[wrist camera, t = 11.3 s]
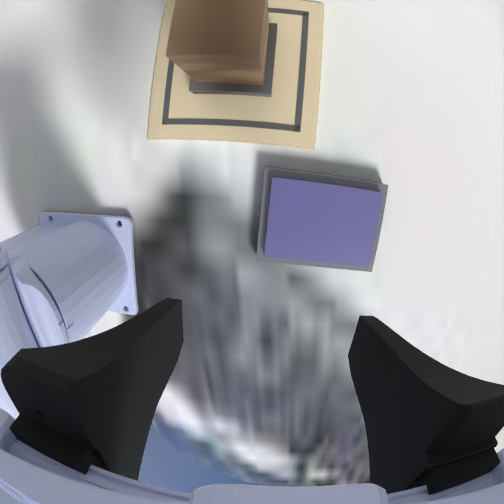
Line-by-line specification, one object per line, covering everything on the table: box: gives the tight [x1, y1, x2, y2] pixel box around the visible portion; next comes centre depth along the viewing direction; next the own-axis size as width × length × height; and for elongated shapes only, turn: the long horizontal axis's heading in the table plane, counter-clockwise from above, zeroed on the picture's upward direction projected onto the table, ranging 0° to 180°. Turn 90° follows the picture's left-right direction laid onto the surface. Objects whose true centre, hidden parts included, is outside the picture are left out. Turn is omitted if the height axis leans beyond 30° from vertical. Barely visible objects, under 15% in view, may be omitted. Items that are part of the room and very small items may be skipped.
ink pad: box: [256, 167, 388, 272], centre depth 19 cm, size 8×6×2 cm
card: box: [148, 0, 324, 149], centre depth 16 cm, size 11×11×1 cm
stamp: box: [166, 0, 278, 97], centre depth 13 cm, size 5×5×7 cm
